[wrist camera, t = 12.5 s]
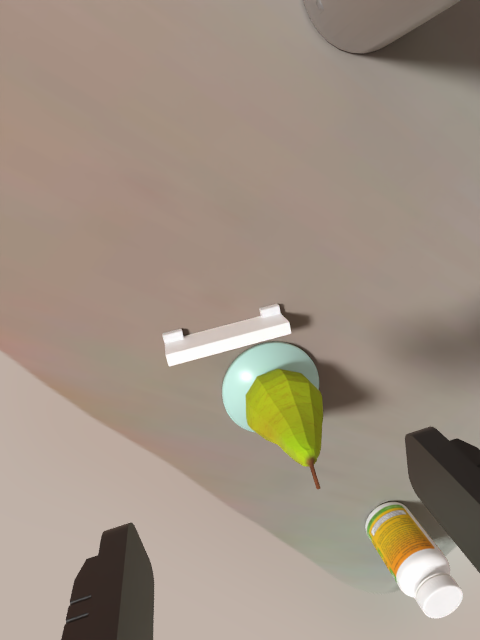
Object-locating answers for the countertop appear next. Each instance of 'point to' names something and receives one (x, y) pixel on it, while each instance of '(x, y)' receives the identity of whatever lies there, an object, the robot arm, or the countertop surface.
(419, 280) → the countertop surface
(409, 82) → the countertop surface
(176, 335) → the rail
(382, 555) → the supplement bottle
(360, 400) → the countertop surface
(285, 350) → the pad
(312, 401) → the fruit
